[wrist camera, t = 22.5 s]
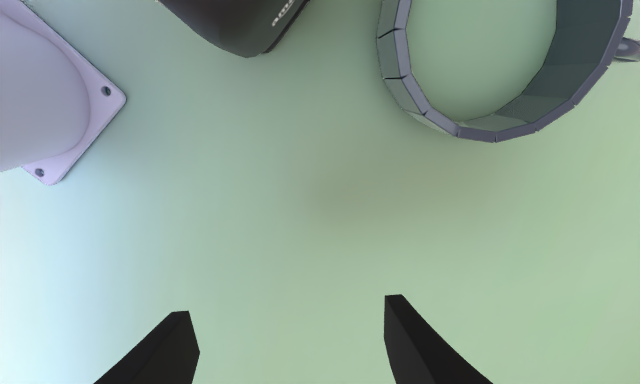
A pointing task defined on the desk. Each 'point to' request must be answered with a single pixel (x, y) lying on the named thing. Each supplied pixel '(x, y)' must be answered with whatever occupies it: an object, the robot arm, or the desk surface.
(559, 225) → the desk surface
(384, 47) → the gray segmented ring
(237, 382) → the desk surface
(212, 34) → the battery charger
